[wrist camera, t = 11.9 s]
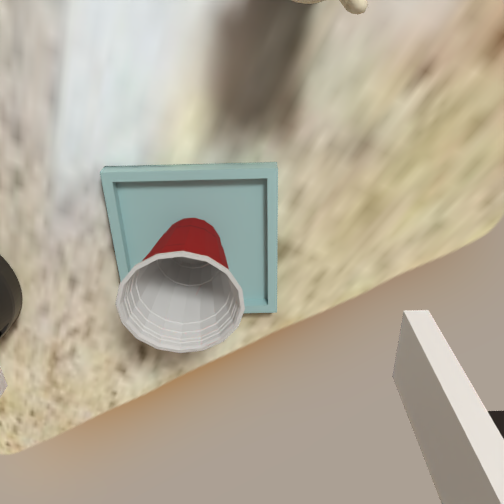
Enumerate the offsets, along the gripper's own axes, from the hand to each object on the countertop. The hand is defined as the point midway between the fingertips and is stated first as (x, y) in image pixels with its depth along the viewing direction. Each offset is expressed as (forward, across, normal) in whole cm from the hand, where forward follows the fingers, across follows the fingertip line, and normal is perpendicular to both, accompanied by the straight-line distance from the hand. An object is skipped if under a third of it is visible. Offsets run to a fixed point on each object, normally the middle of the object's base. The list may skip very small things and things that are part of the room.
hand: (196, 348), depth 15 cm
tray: (+33, -4, -13) cm, 35 cm away
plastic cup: (+32, -4, -13) cm, 35 cm away
